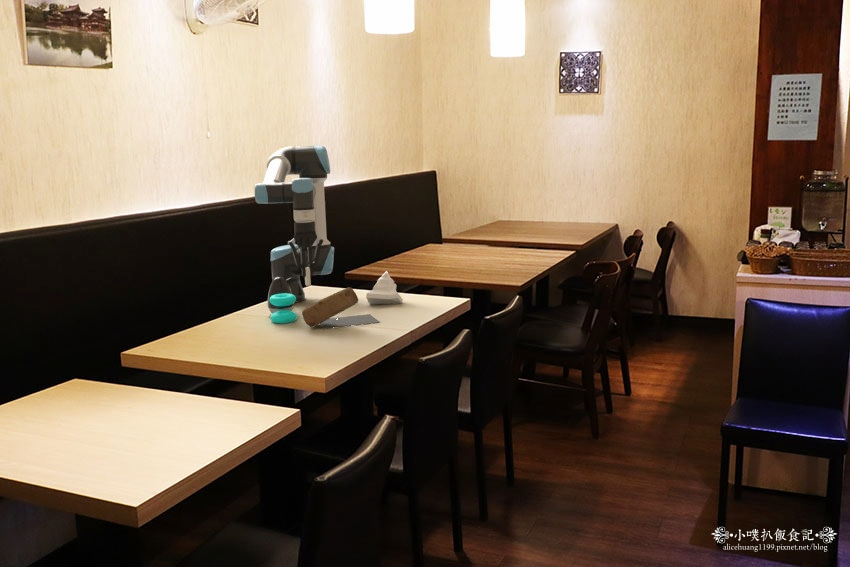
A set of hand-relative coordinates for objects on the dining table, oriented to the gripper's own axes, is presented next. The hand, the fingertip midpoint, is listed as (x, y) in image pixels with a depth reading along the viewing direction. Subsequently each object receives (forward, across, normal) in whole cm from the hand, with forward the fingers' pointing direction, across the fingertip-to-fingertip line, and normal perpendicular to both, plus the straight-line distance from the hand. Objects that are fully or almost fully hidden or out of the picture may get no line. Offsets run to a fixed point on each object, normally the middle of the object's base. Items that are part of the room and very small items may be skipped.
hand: (308, 285), depth 290 cm
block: (+12, -1, -1) cm, 12 cm away
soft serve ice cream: (+16, +36, +24) cm, 46 cm away
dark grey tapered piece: (+16, -7, +23) cm, 29 cm away
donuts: (+16, -8, +12) cm, 21 cm away
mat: (+15, +14, 0) cm, 21 cm away
